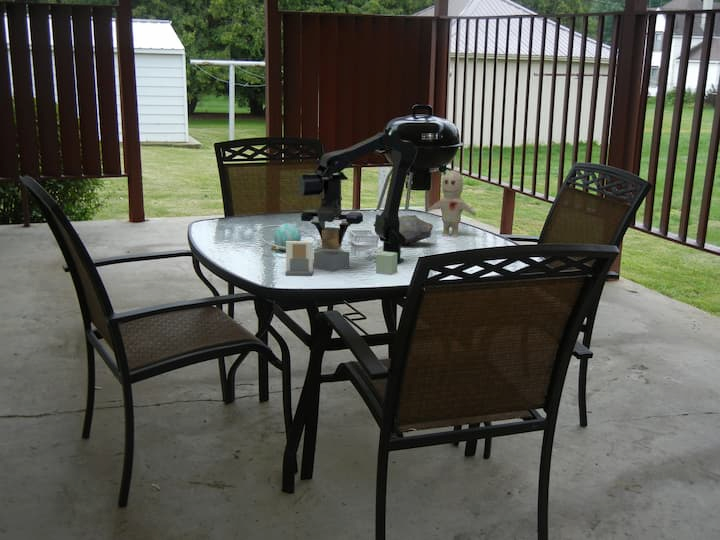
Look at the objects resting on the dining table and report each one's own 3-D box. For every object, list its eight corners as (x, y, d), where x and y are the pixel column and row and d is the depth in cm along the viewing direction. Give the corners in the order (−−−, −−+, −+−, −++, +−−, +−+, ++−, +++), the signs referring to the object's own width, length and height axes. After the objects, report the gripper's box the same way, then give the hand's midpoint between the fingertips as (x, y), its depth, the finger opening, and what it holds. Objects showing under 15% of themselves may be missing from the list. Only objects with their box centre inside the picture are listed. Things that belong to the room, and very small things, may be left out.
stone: (429, 209, 284) (432, 216, 269) (432, 237, 286) (436, 245, 272) (381, 215, 284) (382, 222, 270) (385, 243, 287) (386, 251, 272)
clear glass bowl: (314, 217, 275) (258, 227, 274) (312, 218, 254) (253, 228, 254) (319, 245, 275) (263, 254, 275) (318, 248, 255) (258, 258, 255)
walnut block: (321, 248, 241) (321, 229, 239) (326, 245, 245) (326, 227, 244) (337, 249, 239) (337, 230, 238) (341, 246, 244) (341, 227, 243)
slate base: (329, 263, 249) (329, 248, 248) (349, 267, 245) (349, 252, 244) (313, 268, 243) (313, 252, 242) (333, 272, 239) (333, 256, 237)
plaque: (313, 271, 238) (312, 240, 235) (312, 275, 233) (312, 243, 230) (287, 271, 238) (286, 239, 235) (285, 275, 233) (285, 243, 230)
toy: (424, 234, 296) (426, 169, 289) (431, 231, 302) (433, 167, 296) (470, 239, 288) (473, 172, 282) (476, 236, 295) (479, 170, 288)
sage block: (382, 269, 242) (382, 251, 240) (397, 271, 240) (397, 252, 238) (375, 273, 237) (376, 254, 236) (390, 275, 235) (391, 256, 234)
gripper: (294, 196, 233) (295, 247, 237) (354, 199, 228) (353, 251, 232) (306, 191, 243) (306, 240, 247) (363, 194, 239) (363, 243, 243)
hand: (331, 243), depth 242 cm, fingers closed on walnut block, 5 cm apart
